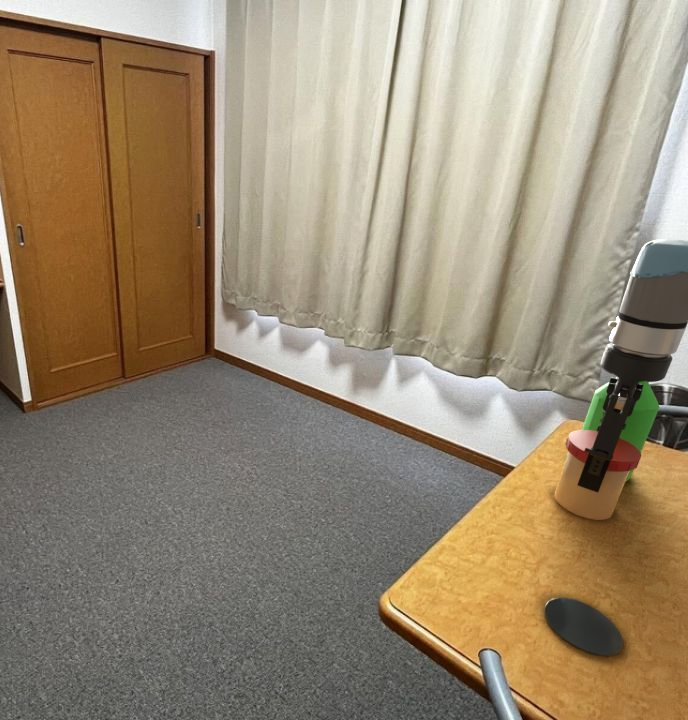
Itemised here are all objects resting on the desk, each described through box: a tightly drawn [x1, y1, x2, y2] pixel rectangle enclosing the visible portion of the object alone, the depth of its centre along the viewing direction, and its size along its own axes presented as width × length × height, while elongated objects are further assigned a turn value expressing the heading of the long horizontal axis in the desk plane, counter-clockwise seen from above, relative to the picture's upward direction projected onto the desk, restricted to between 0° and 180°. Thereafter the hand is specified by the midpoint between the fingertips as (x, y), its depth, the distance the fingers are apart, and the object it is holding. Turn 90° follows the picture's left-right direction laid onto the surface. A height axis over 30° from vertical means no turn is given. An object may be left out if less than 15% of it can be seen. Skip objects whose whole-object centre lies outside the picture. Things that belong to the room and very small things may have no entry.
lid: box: [565, 429, 642, 472], centre depth 77 cm, size 9×9×2 cm
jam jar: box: [553, 451, 629, 521], centre depth 79 cm, size 8×8×12 cm
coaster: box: [543, 597, 624, 657], centre depth 60 cm, size 8×8×1 cm
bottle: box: [581, 381, 660, 482], centre depth 85 cm, size 9×9×25 cm
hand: (592, 473), depth 79 cm, fingers closed on lid, 9 cm apart
